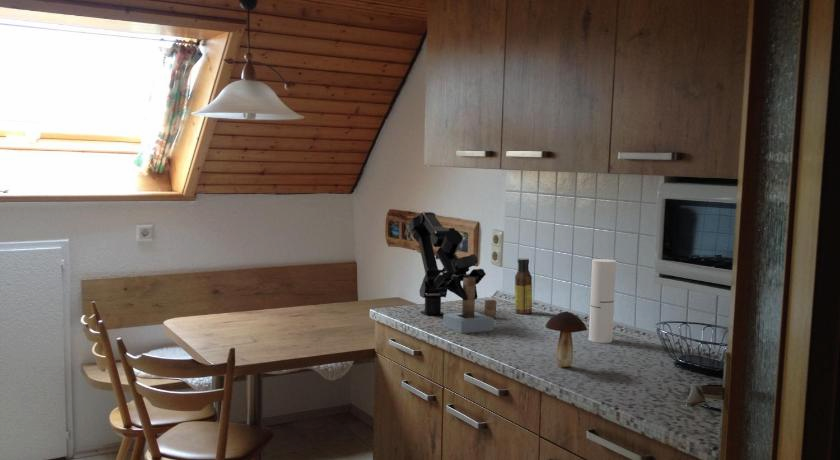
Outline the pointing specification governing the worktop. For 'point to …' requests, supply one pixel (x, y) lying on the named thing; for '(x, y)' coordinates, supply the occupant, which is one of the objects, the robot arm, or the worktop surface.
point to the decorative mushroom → (565, 335)
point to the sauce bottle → (523, 288)
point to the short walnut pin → (490, 308)
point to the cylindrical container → (602, 300)
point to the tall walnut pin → (469, 297)
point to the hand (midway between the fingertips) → (471, 299)
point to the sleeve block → (468, 322)
